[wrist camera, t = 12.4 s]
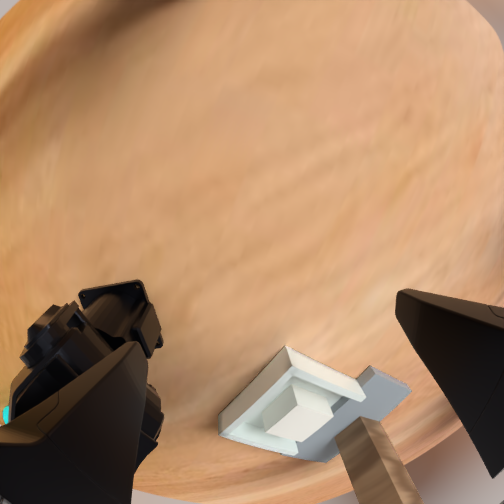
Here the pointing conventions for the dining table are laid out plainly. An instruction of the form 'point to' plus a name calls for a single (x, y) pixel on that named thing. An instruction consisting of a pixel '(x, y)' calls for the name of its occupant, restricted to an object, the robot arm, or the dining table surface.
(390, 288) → the dining table surface
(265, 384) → the tray
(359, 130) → the dining table surface
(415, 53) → the dining table surface
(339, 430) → the board
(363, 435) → the walnut block
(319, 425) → the tile
